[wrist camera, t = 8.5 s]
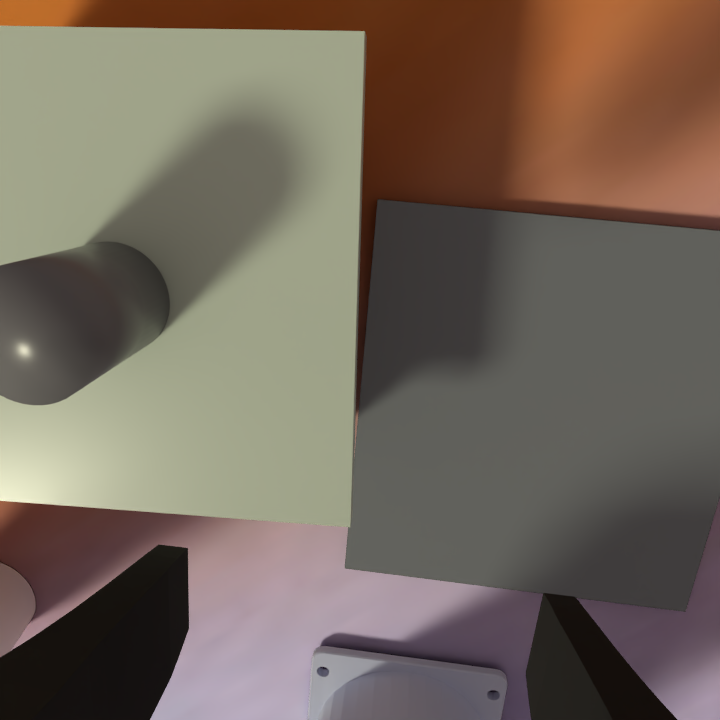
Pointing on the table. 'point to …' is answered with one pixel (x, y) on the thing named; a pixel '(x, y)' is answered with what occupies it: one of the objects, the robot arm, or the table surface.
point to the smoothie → (14, 607)
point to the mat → (539, 403)
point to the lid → (181, 269)
